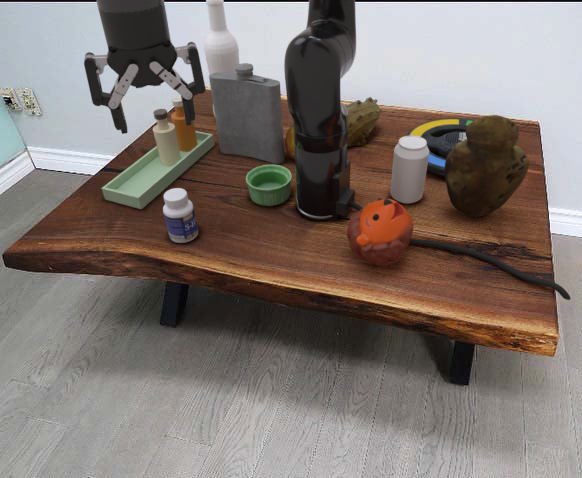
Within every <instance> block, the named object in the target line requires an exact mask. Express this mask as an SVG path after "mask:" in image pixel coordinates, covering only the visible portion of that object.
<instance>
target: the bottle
mask: <svg viewBox="0 0 582 478" xmlns="http://www.w3.org/2000/svg"><path fill="white" fill-rule="evenodd" d="M224 2H225V1H224V0H205V4H206V5H207V13H208V19H209V20H208V22H209V32H208V34H207V36H206V38H205V40H204V43H203V50H204V52H203V53H204V56H205V61H206V65H207V66H206V67H207V70H208V76H209V75H210V74H212V73H234V74H237V72H236V70H235V66H236V65H238V64H240V49H239V45H238V41H237V39H236V36H234V35H233V33H232V32H231V31H230V30H229V29H228V27H227V21H226V14H225V7H224V6H225V5H224ZM212 110H213V116H214V117H215V113H214V106H213V105H212Z"/></svg>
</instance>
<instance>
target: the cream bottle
mask: <svg viewBox="0 0 582 478" xmlns="http://www.w3.org/2000/svg"><path fill="white" fill-rule="evenodd" d="M152 113H153V118H154V120H156V125H154V126H153V127H152V133H153V136H154V140H155V145H156V146H157V149H158V153H159V157H160V161H161V164H162V165H165V166H173V165H175V164H176V163H177V162H178V161H180V160H181V159H182V158H181V153H180V148H179V144H178V139H177V134H176V129H175V125H174V124H172V122H169V121H168V118H169V113H168V110H167V109H166V108H157V109H155V110H154V111H153V112H152Z"/></svg>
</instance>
